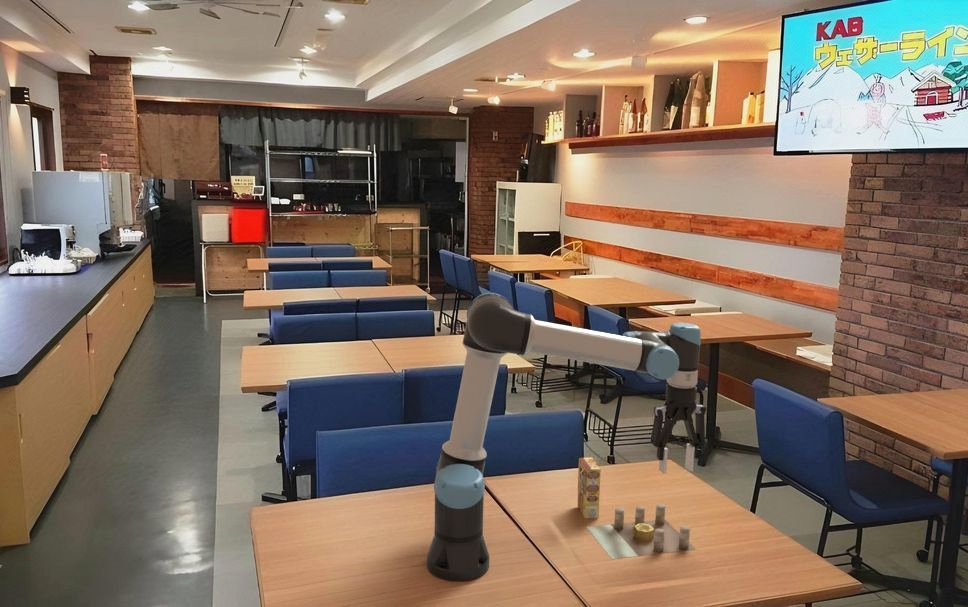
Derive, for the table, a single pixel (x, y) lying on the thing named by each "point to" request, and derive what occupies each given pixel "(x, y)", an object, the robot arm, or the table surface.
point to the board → (624, 544)
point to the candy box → (588, 487)
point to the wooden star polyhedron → (643, 532)
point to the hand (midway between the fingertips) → (675, 470)
